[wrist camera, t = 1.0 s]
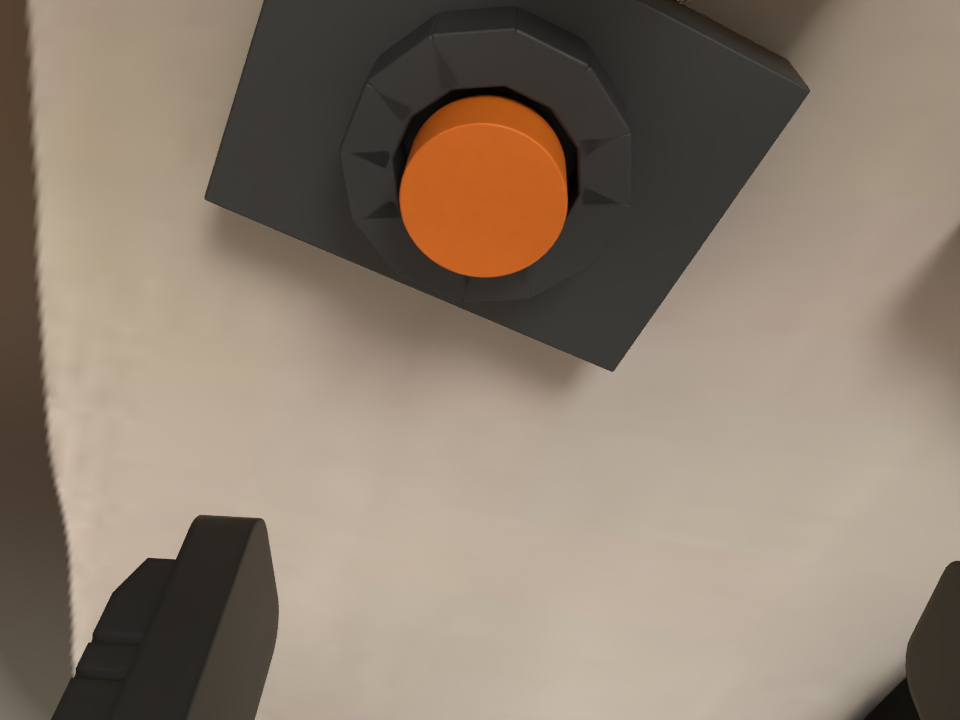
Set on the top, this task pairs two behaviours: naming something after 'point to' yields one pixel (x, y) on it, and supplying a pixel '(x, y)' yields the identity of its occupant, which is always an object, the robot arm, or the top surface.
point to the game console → (896, 706)
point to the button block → (539, 85)
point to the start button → (485, 187)
